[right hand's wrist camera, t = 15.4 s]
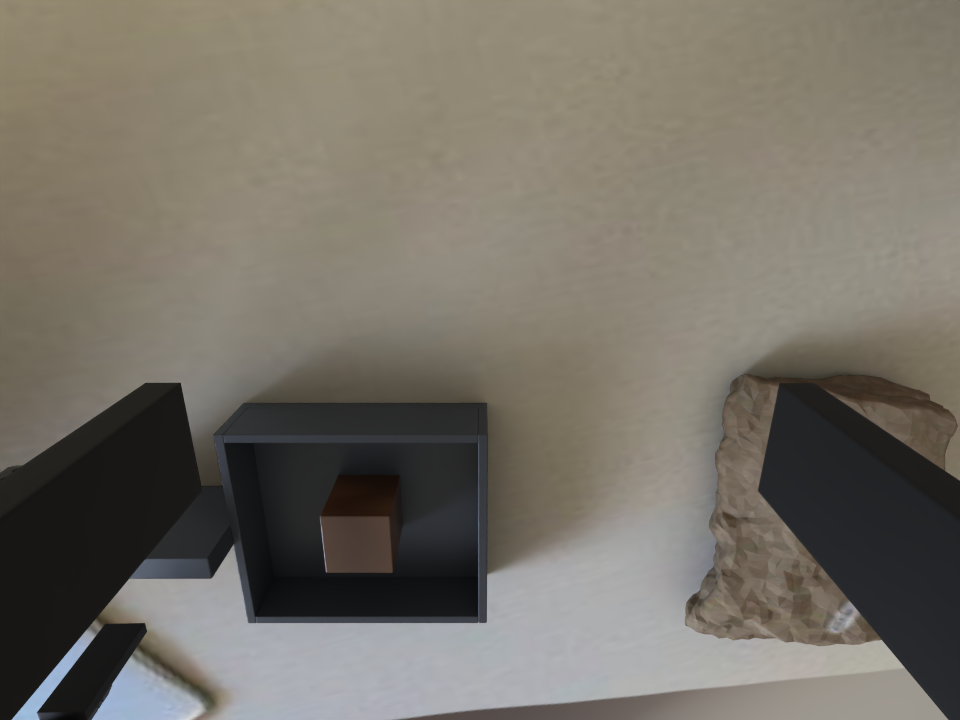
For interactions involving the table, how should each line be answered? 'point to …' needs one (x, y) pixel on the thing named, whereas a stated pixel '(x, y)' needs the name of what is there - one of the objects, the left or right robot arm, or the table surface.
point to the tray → (304, 492)
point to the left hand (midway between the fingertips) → (103, 546)
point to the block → (362, 524)
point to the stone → (766, 538)
